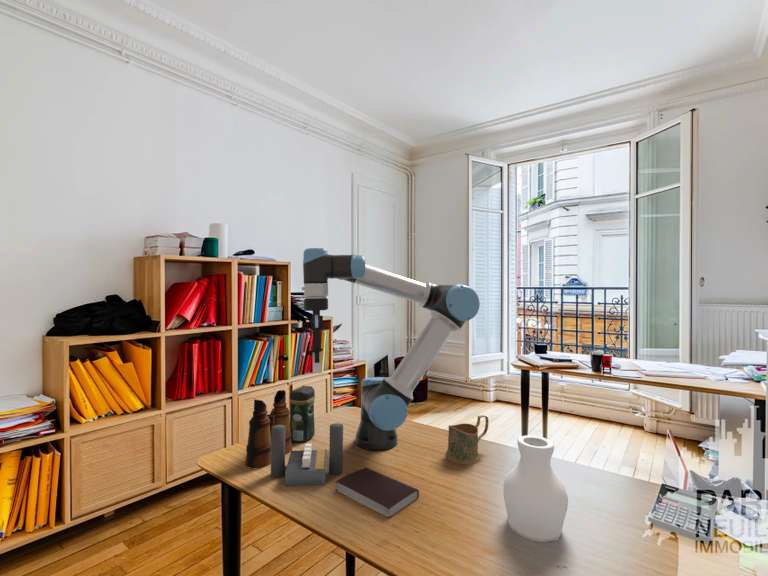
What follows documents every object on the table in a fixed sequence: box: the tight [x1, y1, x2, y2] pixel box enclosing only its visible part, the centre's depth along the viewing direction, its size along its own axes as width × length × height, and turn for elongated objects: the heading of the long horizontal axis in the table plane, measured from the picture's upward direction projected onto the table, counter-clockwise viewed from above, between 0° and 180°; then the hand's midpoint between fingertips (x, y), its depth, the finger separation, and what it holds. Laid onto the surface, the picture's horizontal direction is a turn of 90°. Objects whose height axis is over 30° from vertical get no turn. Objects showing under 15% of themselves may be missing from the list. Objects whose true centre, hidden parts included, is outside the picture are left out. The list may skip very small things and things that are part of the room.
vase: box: [503, 434, 569, 543], centre depth 92 cm, size 14×14×20 cm
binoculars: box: [244, 389, 293, 469], centre depth 128 cm, size 18×8×20 cm, turn 156°
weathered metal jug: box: [444, 415, 489, 465], centre depth 132 cm, size 12×18×12 cm, turn 124°
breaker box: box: [284, 449, 328, 487], centre depth 117 cm, size 11×14×4 cm
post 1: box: [270, 425, 286, 479], centre depth 116 cm, size 4×4×14 cm
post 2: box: [328, 422, 344, 476], centre depth 118 cm, size 4×4×14 cm
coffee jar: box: [289, 385, 316, 443], centre depth 144 cm, size 10×8×19 cm
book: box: [335, 467, 420, 519], centre depth 106 cm, size 12×19×3 cm, turn 49°
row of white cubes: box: [302, 443, 313, 468], centre depth 117 cm, size 2×11×2 cm, turn 7°
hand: (317, 372), depth 124 cm, fingers closed
